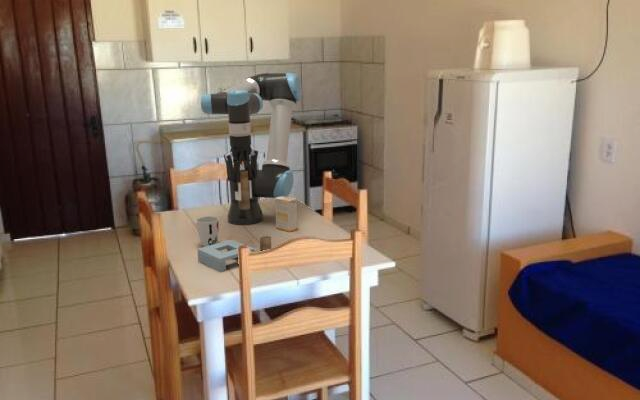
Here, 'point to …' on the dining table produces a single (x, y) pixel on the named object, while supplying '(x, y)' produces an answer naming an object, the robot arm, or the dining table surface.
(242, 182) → the long pin
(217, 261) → the square hole board
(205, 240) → the cup
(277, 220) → the supplement box
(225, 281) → the dining table surface
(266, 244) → the short pin
